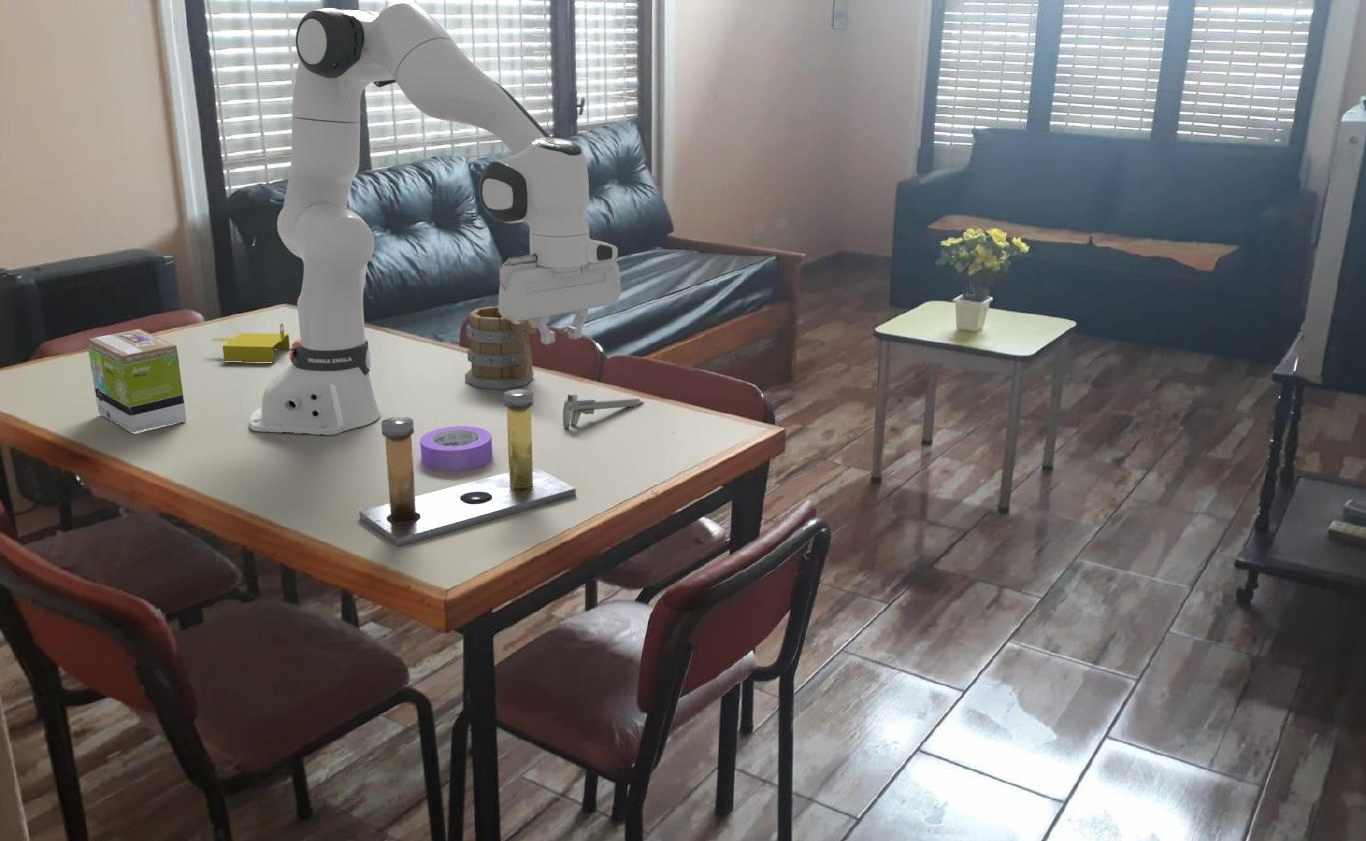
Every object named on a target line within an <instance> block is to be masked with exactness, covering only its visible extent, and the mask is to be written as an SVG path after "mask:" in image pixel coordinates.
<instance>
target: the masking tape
mask: <svg viewBox="0 0 1366 841" xmlns="http://www.w3.org/2000/svg"><path fill="white" fill-rule="evenodd" d="M419 444H420V446H419V447H420V454H421V456H420V457H421V462H422V464H423V465H424V466H425V467H427V468H430V469H434V470H439V471H448V472H449V471H451V472H453V471H456V472H457V471H465V470H466V471H467V470H471V469H476V468H480V467H483V466H485V465H487V464H488V463H490V462H491V460H492V459H493V440H492V434H491V432H490V431H488V430H486V429H483V428H480V427H476V426H466V425H462V426H461V425H459V426H458V425H456V426H455V425H454V426H446V427H441V428H437V429H433V430H430V431H429V432H426V433H424V435H423V434H422V436H421V437H420V440H419Z"/></svg>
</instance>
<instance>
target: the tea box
mask: <svg viewBox="0 0 1366 841" xmlns="http://www.w3.org/2000/svg"><path fill="white" fill-rule="evenodd" d="M86 345H87V351H88V357H89V362H90V370H91V374H92V375H91V376H92V380H93V388H94V392H95V397H96V398H95V400H96V406H97V410H98V414H99V413H100V414H101V415H100V414H99V415H100V416H102V415H103V416H102V417H104V416H105V417H108V418H109V419H111V420H113V421H114V422H116V423H118V424H119V425H121V426H123V427H125V428H126V429H128V430H130V431H132V432H136V431H141V430H144V429H149V428H154V427H159V426H163V425H169V424H174V423H178V422H183V421H186V422H187V412H186V405H185V399H184V391H183V385H182V384H183V383H182V376H181V368H180V362H179V354H178V347H177V345H176V344H175V343H171V342H169V341H168V340H165V339H163V338H160V337H159V336H156V335H154V334H152V333H149V332H148V331H145V330H142V329H140V328H137V329H131V330H127V331H123V332H122V331H121V332H117V333H112V334H107V335H102V336H97V337H91V338H87V339H86ZM105 417H104V418H105ZM109 419H108V420H109ZM114 422H113V423H114ZM116 423H115V424H116ZM183 423H184V422H183ZM119 425H118V426H119ZM121 426H120V427H121ZM123 427H122V428H123ZM126 429H125V430H126Z"/></svg>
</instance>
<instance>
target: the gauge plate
mask: <svg viewBox="0 0 1366 841" xmlns="http://www.w3.org/2000/svg"><path fill="white" fill-rule="evenodd" d="M576 491H577V490H576V487H574V486H572V485H570V484H568V483H566V482H565V481H563V480H560V479H558V478H557V477H555V476H553V475H551V474H549V473H547V472H545V471H543V470H542V469H540V468H538V467H536V466H534V465H533V485H532V486H530V487H527V488H514V487H511V486H510V483H509V471H508V472H503V473H500V474H496V475H493V476H490V477H489V476H488V477H486V478H481V479H478V480H473V481H470V482H466V483H462V484H458V485H456V486H451V487H447V488H444V489H439V490H436V491H432V492H427V493H424V494H421V495H415V502H416V518H415V519H414V520H412V521H409V522H395V521H393V520H391V512H390V502H389V503H386V504H383V505H382V504H381V505H379V506H374V507H371V508H368V509H363V510H359V511H358V512H359V520H361V521H362V522H364V523H365V525H368V526H370V528H372V529H373V530H375V532H377V533H379V534H380V535H382V536H383V537H385V539H387V540H389V541H390V542H392V543H393V544H394V545H396V546H397V547H401V546H404V545H408V544H412V543H416V542H419V541H422V540H425V539H428V538H433V537H435V536H440V535H443V534H447V533H450V532H455V531H457V530H461V529H464V528H468V527H472V526H474V525H478V524H481V523H484V522H488V521H492V520H495V519H499V518H502V517H506V516H509V515H512V514H516V513H519V512H522V511H526V510H531V509H533V508H537V507H540V506H544V505H548V504H552V503H554V502H558V501H562V500H565V499H569V498H571V497H572V498H573V497H574V496H577V495H576Z"/></svg>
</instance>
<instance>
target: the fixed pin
mask: <svg viewBox="0 0 1366 841" xmlns="http://www.w3.org/2000/svg"><path fill="white" fill-rule="evenodd" d="M414 424H415V423H414V419H413V418H410V417H407V416H394V417H393V416H392V417H389V418H386V419H383V420H382V421H381V423H380V426H381V435H382V436H383V437H384V439H385V453H386V454H385V455H386V466H387V483H388V484H387V485H388V496H389V497H388V498H389V503H390V512H391V520H393V521H395V522H409V521H412V520H414V519H415V518H416V502H415V497H416V492H415V491H416V487H415V475H414V474H415V473H414V472H415V471H414V470H415V469H414V457H413V454H414V453H413V444H412V443H413V442H412V440H413V439H412V435H413V434H414V433H415V429H414V428H415V425H414Z"/></svg>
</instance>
